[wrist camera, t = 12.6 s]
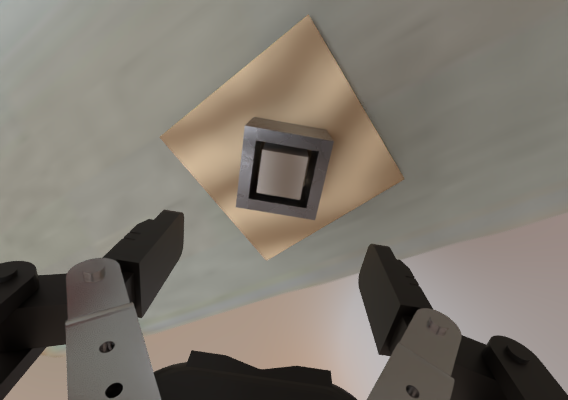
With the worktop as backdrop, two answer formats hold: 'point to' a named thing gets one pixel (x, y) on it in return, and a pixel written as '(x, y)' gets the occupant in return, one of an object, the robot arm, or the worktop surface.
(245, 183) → the steel collar
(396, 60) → the worktop surface
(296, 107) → the post stand
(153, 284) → the robot arm
